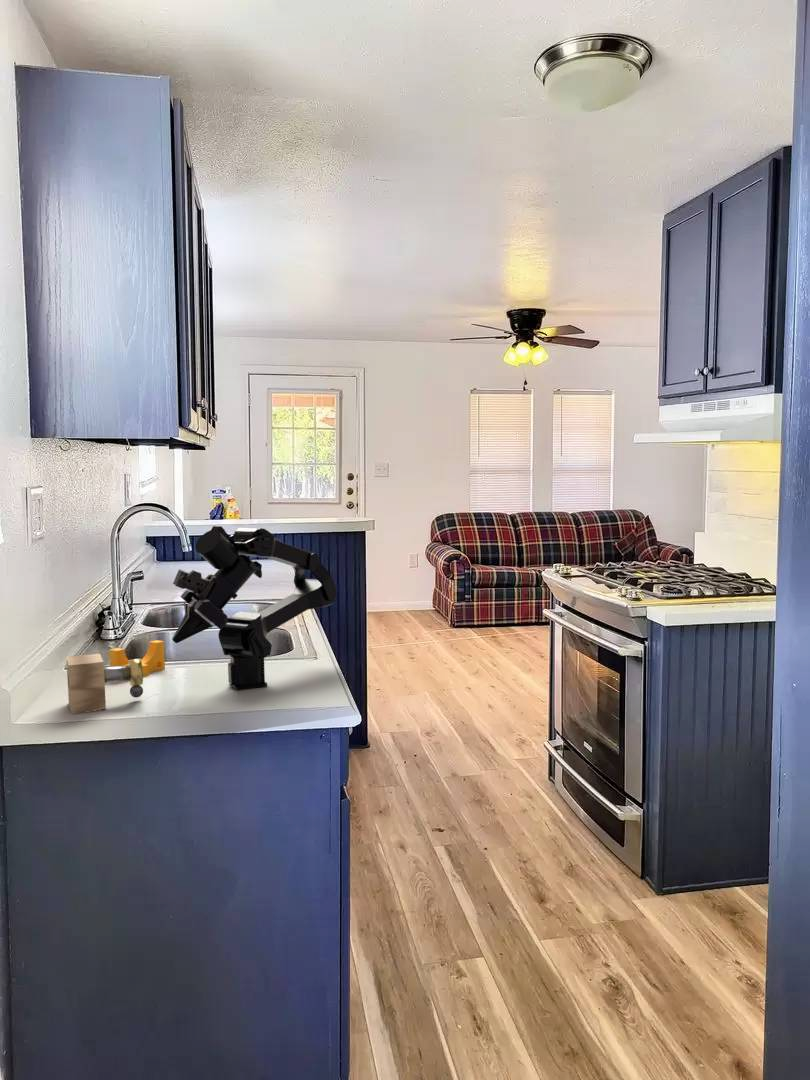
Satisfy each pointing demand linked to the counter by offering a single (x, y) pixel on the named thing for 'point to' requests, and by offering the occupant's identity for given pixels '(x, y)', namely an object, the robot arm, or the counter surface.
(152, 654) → the pipe clamp
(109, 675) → the tan and grey piece
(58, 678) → the counter surface
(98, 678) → the oak block
